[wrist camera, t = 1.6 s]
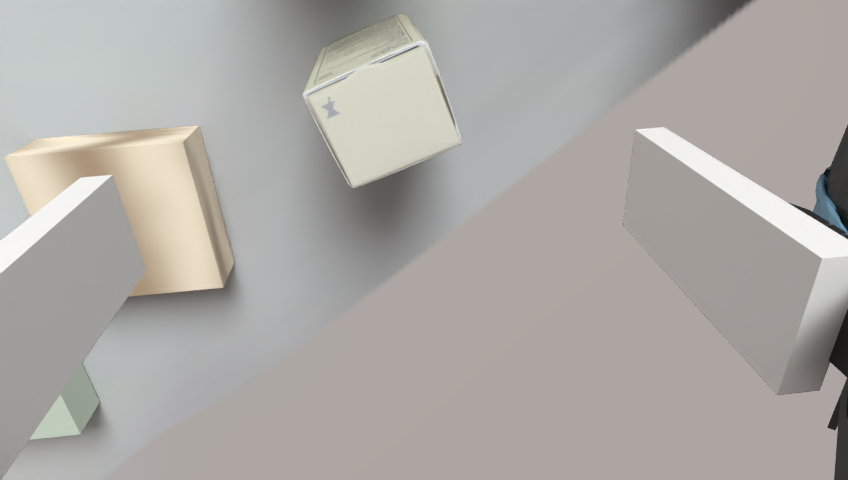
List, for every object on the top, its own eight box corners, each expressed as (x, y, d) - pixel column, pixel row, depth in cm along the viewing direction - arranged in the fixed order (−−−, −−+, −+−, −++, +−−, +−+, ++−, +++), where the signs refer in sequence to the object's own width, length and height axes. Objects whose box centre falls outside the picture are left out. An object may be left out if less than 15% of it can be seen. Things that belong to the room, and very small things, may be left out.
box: (352, 119, 32) (343, 195, 22) (318, 46, 30) (292, 94, 20) (437, 84, 31) (466, 146, 21) (409, 7, 29) (427, 37, 19)
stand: (198, 125, 31) (182, 142, 28) (234, 262, 35) (223, 287, 33) (35, 138, 31) (4, 157, 28) (91, 275, 35) (68, 302, 32)
